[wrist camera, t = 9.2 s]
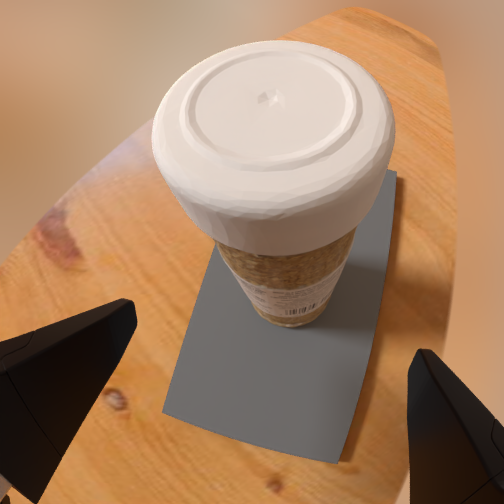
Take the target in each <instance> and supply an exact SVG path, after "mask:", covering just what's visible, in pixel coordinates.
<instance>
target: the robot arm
mask: <svg viewBox="0 0 504 504" xmlns="http://www.w3.org/2000/svg"><path fill="white" fill-rule="evenodd" d="M136 327H137V316H136V310H135V305H134V302H133V301H132V300H128V299H124V298H121V299H118V300H116V301H113V302H110V303H107V304H105V305H102V306H99V307H97V308H94V309H91V310H88V311H86V312H83V313H80V314H78V315H75V316H72V317H69V318H67V319H64V320H61V321H59V322H56V323H53V324H50V325H48V326H45V327H42V328H40V329H37V330H35V331H31V332H29V333H26V334H23V335H20V336H17V337H14V338H11V339H8V340H5V341H1V342H0V504H10V498H9V496H8V495H7V492H8V491H9V490H10V488H11V487H13V488H15V489H16V490H17V491H18V492H20V493H21V494H22V495H23V496H25V497H26V498H27V499H29V500H30V501H31V502H33V503H34V504H37V503H38V502H39V500H40V498H41V496H42V494H43V493H44V491H45V489H46V487H47V485H48V483H49V481H50V480H51V478H52V476H53V474H54V472H55V470H56V469H57V467H58V465H59V463H60V461H61V460H62V457H63V456H64V454H65V452H66V450H67V449H68V447H69V445H70V443H71V442H72V440H73V438H74V436H75V435H76V433H77V431H78V430H79V428H80V426H81V424H82V423H83V421H84V419H85V418H86V416H87V414H88V413H89V411H90V409H91V408H92V406H93V404H94V403H95V401H96V399H97V398H98V396H99V394H100V393H101V391H102V390H103V388H104V386H105V385H106V383H107V381H108V380H109V378H110V377H111V375H112V373H113V372H114V370H115V369H116V367H117V365H118V363H119V362H120V360H121V358H122V356H123V354H124V352H125V350H126V348H127V346H128V344H129V342H130V340H131V338H132V335H133V333H134V331H135V329H136ZM407 425H408V440H409V463H410V504H504V427H503V426H502V425H501V423H500V422H499V421H498V420H497V419H495V417H494V416H493V415H492V414H491V412H490V411H489V410H488V409H487V408H486V407H485V406H484V405H483V404H482V402H481V401H480V400H479V399H478V398H477V397H476V396H475V395H474V394H473V393H472V392H471V391H470V390H469V388H468V387H467V386H466V385H465V384H464V383H463V382H462V381H461V380H460V379H459V378H458V377H457V376H456V375H455V374H454V373H453V372H452V371H451V369H450V368H448V366H447V365H446V364H445V363H444V362H443V361H442V360H441V359H440V358H439V357H438V356H437V355H436V354H435V353H434V352H433V351H432V350H430V349H418V350H417V352H416V354H415V356H414V358H413V361H412V363H411V365H410V367H409V370H408V398H407Z"/></svg>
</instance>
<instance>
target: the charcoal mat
mask: <svg viewBox="0 0 504 504" xmlns="http://www.w3.org/2000/svg"><path fill="white" fill-rule="evenodd" d="M396 176H397V172H396V171H392V170H388V169H387V170H386V173H385V176H384V179H383V182H382V184H381V187H380V190H379V193H378V195H377V197H376V199H375V201H374V203H373V205H372V207H371V209H370V210H369V212H368V213H367V215H366V216H365V217H364V218H363V219H362V221H361V222H360V223H359V224H358V226H357V228H356V231H355V237H354V243H353V246H352V249H351V251H350V254H349V256H348V259H347V261H346V263H345V265H344V268H343V270H342V273H341V275H340V277H339V279H338V281H337V283H336V286H335V288H334V290H333V292H332V293H331V297H330V300H329V301H328V303H327V306H326V308H325V309H324V311H323V312H322V313H321V314H320V315H319V316H318V317H317V318H316V319H314V320H313V321H311V322H309V323H306V324H305V325H302V326H297V327H281V326H277V325H274V324H272V323H270V322H268V321H267V320H265V319H263V318H262V317H261V316H260V315H259V314H258V312H257V311H256V310H255V308H254V307H253V305H252V302H251V300H250V299H249V298H248V296H247V295H246V293H245V292H244V290H243V289H242V287H241V286H240V284H239V282H238V281H237V279H236V278H235V276H234V275H233V273H232V272H231V270H230V269H229V267H228V266H227V264H226V263H225V261H224V260H223V258H222V256H221V254H220V252H219V250H218V247H217V244H215V247H214V249H213V252H212V255H211V258H210V261H209V264H208V267H207V270H206V273H205V276H204V279H203V282H202V285H201V288H200V291H199V294H198V297H197V300H196V303H195V306H194V310H193V313H192V316H191V319H190V322H189V325H188V328H187V331H186V335H185V338H184V341H183V344H182V347H181V350H180V354H179V357H178V360H177V363H176V367H175V370H174V373H173V377H172V380H171V383H170V387H169V390H168V393H167V397H166V400H165V403H164V407H163V410H162V413H164V414H167V415H169V416H172V417H174V418H176V419H179V420H182V421H184V422H187V423H189V424H192V425H195V426H197V427H200V428H203V429H206V430H208V431H211V432H214V433H217V434H220V435H223V436H226V437H229V438H232V439H235V440H239V441H242V442H245V443H249V444H252V445H256V446H259V447H263V448H266V449H270V450H274V451H278V452H282V453H286V454H290V455H294V456H299V457H303V458H308V459H313V460H318V461H323V462H328V463H334V464H338V461H339V458H340V455H341V453H342V450H343V447H344V444H345V441H346V438H347V435H348V432H349V429H350V425H351V422H352V419H353V416H354V412H355V409H356V406H357V402H358V399H359V395H360V392H361V388H362V384H363V380H364V377H365V373H366V369H367V365H368V361H369V357H370V352H371V348H372V344H373V339H374V335H375V330H376V325H377V320H378V315H379V310H380V305H381V299H382V294H383V288H384V282H385V276H386V269H387V262H388V255H389V248H390V240H391V232H392V223H393V213H394V202H395V190H396Z"/></svg>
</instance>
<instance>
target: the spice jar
mask: <svg viewBox="0 0 504 504" xmlns="http://www.w3.org/2000/svg"><path fill="white" fill-rule="evenodd" d="M394 141H395V119H394V114H393V110H392V106H391V103H390V101H389V99H388V97H387V95H386V93H385V92H384V90H383V88H382V87H381V86H380V84H379V83H378V82H377V80H376V79H375V78H374V77H373V76H372V75H371V74H370V73H369V72H368V71H366V70H365V69H364V68H363V67H362V66H360V65H359V64H358V63H356V62H355V61H353V60H352V59H350V58H348V57H346V56H344V55H342V54H340V53H338V52H336V51H333V50H331V49H328V48H325V47H322V46H318V45H315V44H311V43H304V42H298V41H284V40H275V41H261V42H254V43H249V44H244V45H240V46H236V47H232V48H229V49H227V50H224V51H222V52H219V53H217V54H215V55H213V56H211V57H209V58H207V59H205V60H203V61H202V62H200V63H198V64H197V65H195V66H194V67H192V68H191V69H190V70H188V71H187V72H186V73H185V74H183V75H182V76H181V77H180V78H179V79H178V80H177V81H176V82H175V83H174V84H173V86H172V87H171V88H170V89H169V91H168V92H167V94H166V95H165V97H164V98H163V100H162V102H161V104H160V106H159V108H158V110H157V112H156V115H155V118H154V122H153V129H152V149H153V154H154V157H155V160H156V163H157V166H158V168H159V170H160V172H161V174H162V176H163V177H164V179H165V181H166V183H167V184H168V186H169V188H170V189H171V191H172V192H173V194H174V195H175V197H176V198H177V200H178V201H179V203H180V204H181V206H182V207H183V209H184V210H185V212H186V213H187V215H188V216H189V217H190V219H191V220H192V221H193V222H194V223H195V224H196V225H197V227H199V228H200V229H201V230H202V231H203V232H205V233H206V234H207V235H209V236H210V237H211V238H213V240H214V241H215V243H216V244H217V247H218V250H219V252H220V254H221V256H222V258H223V260H224V261H225V263H226V264H227V266H228V267H229V269H230V270H231V272H232V273H233V275H234V276H235V278H236V279H237V281H238V282H239V284H240V286H241V287H242V289H243V290H244V292H245V293H246V295H247V296H248V298H249V299H250V300H251V302H252V305H253V307H254V308H255V310H256V311H257V312H258V314H259V315H260V316H261V317H262V318H263V319H265V320H267V321H268V322H270V323H272V324H274V325H277V326H281V327H297V326H302V325H305V324H306V323H309V322H311V321H313V320H314V319H316V318H317V317H318V316H319V315H320V314H321V313H322V312H323V311H324V309H325V308H326V306H327V303H328V301H329V300H330V297H331V293H332V292H333V290H334V288H335V286H336V283H337V281H338V279H339V277H340V275H341V273H342V270H343V268H344V265H345V263H346V261H347V259H348V256H349V254H350V251H351V249H352V246H353V243H354V237H355V231H356V228H357V226H358V224H359V223H360V222H361V221H362V219H363V218H364V217H365V216H366V215H367V213H368V212H369V210H370V209H371V207H372V205H373V203H374V201H375V199H376V197H377V195H378V193H379V190H380V187H381V184H382V182H383V179H384V176H385V173H386V170H387V168H388V164H389V161H390V157H391V154H392V150H393V146H394Z"/></svg>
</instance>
